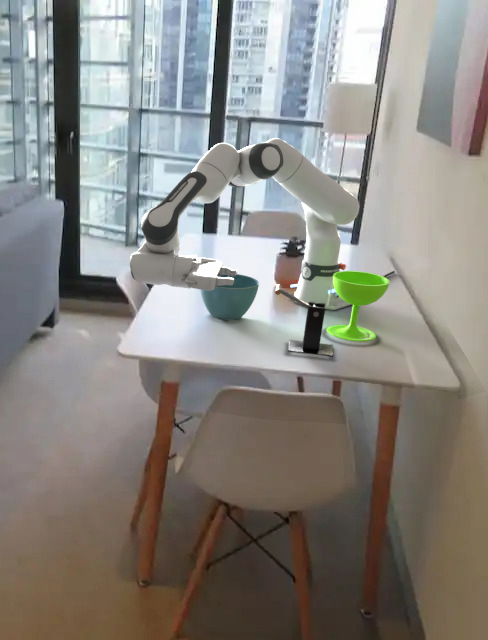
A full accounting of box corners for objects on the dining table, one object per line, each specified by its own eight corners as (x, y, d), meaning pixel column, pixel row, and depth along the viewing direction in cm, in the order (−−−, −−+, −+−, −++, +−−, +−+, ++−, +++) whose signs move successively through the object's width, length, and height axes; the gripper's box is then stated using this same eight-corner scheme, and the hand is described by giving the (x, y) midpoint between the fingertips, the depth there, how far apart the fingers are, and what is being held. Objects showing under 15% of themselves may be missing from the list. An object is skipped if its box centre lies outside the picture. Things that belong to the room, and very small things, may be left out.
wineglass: (346, 348, 206) (357, 287, 199) (312, 330, 219) (321, 272, 212) (390, 342, 212) (401, 283, 205) (354, 325, 225) (364, 269, 218)
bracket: (287, 354, 199) (294, 307, 194) (288, 343, 207) (295, 298, 202) (332, 360, 197) (340, 312, 191) (331, 348, 205) (338, 302, 199)
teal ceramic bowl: (186, 311, 231) (189, 274, 226) (235, 306, 238) (239, 270, 233) (214, 329, 216) (218, 290, 211) (265, 324, 222) (270, 286, 218)
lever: (273, 294, 195) (277, 287, 194) (274, 288, 200) (278, 281, 199) (318, 320, 195) (323, 313, 194) (317, 314, 200) (322, 307, 199)
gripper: (180, 270, 191) (232, 275, 188) (192, 253, 209) (239, 257, 207) (179, 293, 193) (230, 298, 191) (190, 274, 212) (237, 279, 209)
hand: (235, 277), depth 199 cm, fingers open, 8 cm apart
